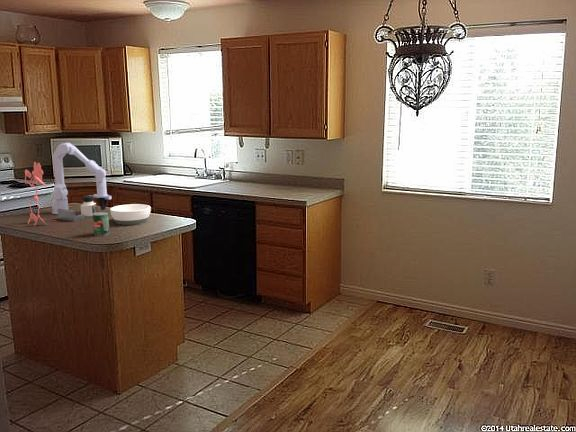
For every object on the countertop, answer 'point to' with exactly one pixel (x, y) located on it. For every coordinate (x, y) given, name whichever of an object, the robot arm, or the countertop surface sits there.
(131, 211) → the bowl
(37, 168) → the figurine
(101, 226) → the canned tomato
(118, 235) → the countertop surface
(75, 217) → the bracket
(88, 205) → the medicine bottle
